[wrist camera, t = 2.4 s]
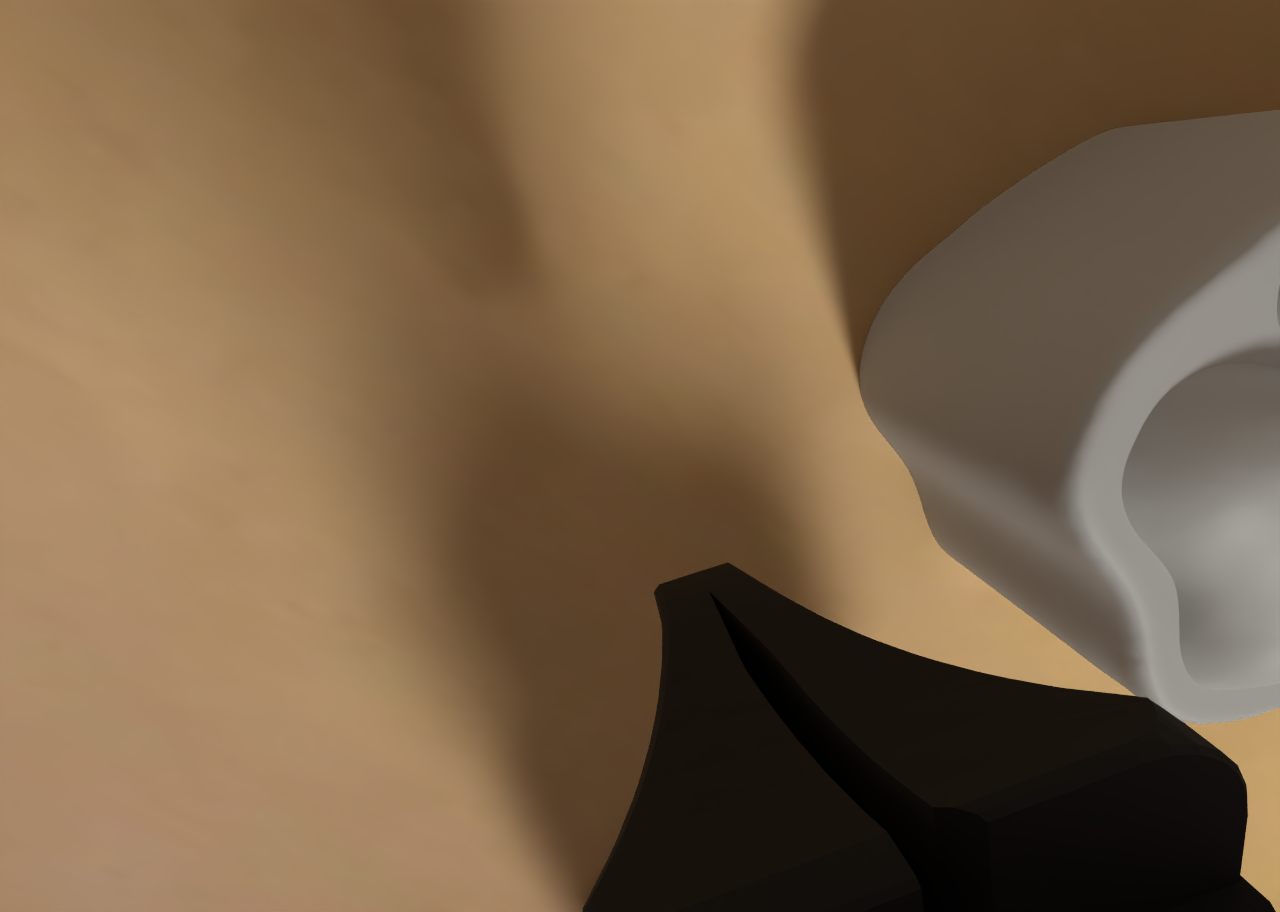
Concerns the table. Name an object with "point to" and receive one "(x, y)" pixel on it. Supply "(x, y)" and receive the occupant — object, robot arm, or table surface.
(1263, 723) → the table surface
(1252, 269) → the lumpy-topped squat cylinder
